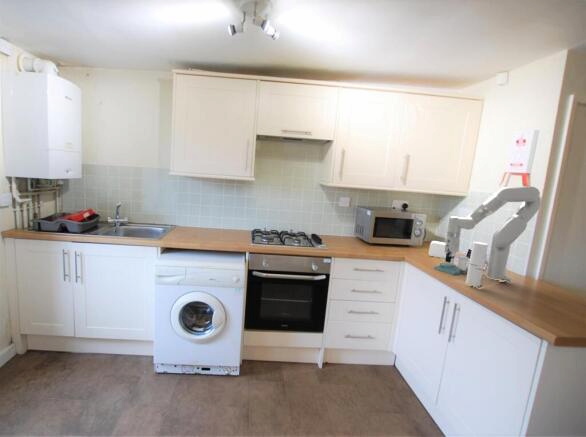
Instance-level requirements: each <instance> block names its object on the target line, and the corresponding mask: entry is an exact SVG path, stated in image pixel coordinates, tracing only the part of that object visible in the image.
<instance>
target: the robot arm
mask: <svg viewBox="0 0 586 437" xmlns="http://www.w3.org/2000/svg"><path fill="white" fill-rule="evenodd" d="M540 195H541V192H540V190H539V189H538V188H537V187H535V186H518V187H502V188H499V190H497V191H496V192H494V194H492V195H491V196H490V197H489V198H487V199H486V200H485V201H483V202H482V203H481V204H480V205H479V206H478V207H477V208H476V209H475V210H473V211H472V212H471V213H470V214H469V215H467V216H466V217H461V216H457V215H450V217H449V219H448V225H447V233H446V241H445V243H446V244H445V253H446V259H444V262H445V261H446V262H449V263H450V261H451V257H450V256H451V252H452V253H453V252H455V254H456V253H458V252H459V250H460V244H461V243H460V237H461V231H462V229H464V230H473V229H474V228H475V227H476V226H477V225H478V224H480V222H482V221H483V220H484V219H486V218H487V217H489V216H491V215H493V214H494V213H496V212H497V211H498V210H500V209H501V208H502V207H504V206H505V205H506V204H508V203H521V204H520V205H519V207H518V208H517V209H516V210H515V212H513V214H511V216H509V217H508V218H507V220H506V222H505V223H504V224H503V225H502V226H501V228H500V229H498V230H496V231H495V232H494V233H493V234H492V240H491V246H490V251H489V256H488V261H487V265H486V271H485V274H486V276H488V277H490V278H494V279H500V280H506V282H512V281H513V280H512V278H511V277H509V276H507V274H506V269H507V265H508V259H509V255H510V251H511V250H510V249H511V245H512V244H513V243H514V242H515V241H516V240H517V239H518V238H519V237H520V236H521V235H522V234H523V233H524V232H525V231H526V229H527V226H528V223H529V222H530V221H531V220H532V219H533V218H534V216H536V214H537V213H538V211H539V209H540V207H541V203H542V202H541V201H542V200H541V196H540ZM448 250H449V251H450V252H449V251H448ZM448 252H449V253H448ZM455 256H456V255H455ZM455 256H454V258H455Z"/></svg>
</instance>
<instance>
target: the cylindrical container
mask: <svg viewBox="0 0 586 437" xmlns="http://www.w3.org/2000/svg"><path fill="white" fill-rule="evenodd" d="M488 246H489V244H488V243H487V242H481V241H473V242H472V246H471V250H470V251H471V252H470V256H469V262H468V267H467V269H468V272H467V274H466V279H465V283H467V284H470V285H474V286H477V287H481V283H482V277H483V272H484V268H485V267H484V266H485V262H486V256H487V252H488Z"/></svg>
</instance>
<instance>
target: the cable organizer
mask: <svg viewBox="0 0 586 437" xmlns="http://www.w3.org/2000/svg"><path fill="white" fill-rule="evenodd" d="M445 244H446V242H443V241H437V240H432V241H431V242H430V244H429V249H428V256H429V255H430V257H431V256H434V257H433V258H438V257H439V258H438V259H442V258H445V259H446V253H445ZM445 259H444V260H445Z"/></svg>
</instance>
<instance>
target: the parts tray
mask: <svg viewBox="0 0 586 437" xmlns="http://www.w3.org/2000/svg"><path fill="white" fill-rule="evenodd" d="M434 270H436V271H439V272H442V273H446V274H449V275H451V276H455V275H459V274H461V273H460V270H458V269H455V268H452V267H448V266H445V265H440V264H438V265H434Z"/></svg>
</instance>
